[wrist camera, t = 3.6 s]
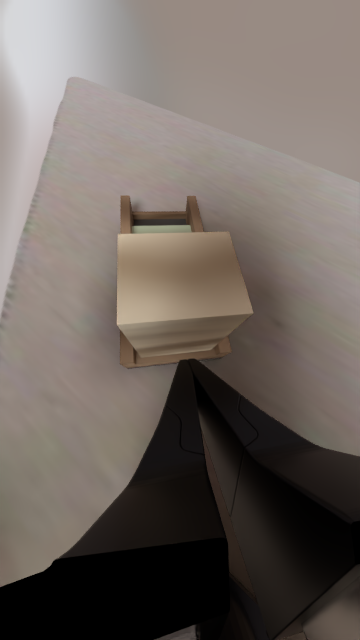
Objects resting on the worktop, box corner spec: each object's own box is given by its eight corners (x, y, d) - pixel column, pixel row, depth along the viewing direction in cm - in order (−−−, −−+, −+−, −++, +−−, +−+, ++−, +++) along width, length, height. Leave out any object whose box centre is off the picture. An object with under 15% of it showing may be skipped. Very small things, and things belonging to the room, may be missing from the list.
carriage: (210, 350, 15) (253, 313, 8) (141, 357, 14) (116, 324, 7) (200, 300, 17) (228, 231, 10) (139, 304, 16) (117, 234, 9)
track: (220, 358, 17) (231, 351, 14) (128, 368, 16) (120, 364, 13) (191, 219, 24) (195, 196, 21) (126, 220, 23) (120, 195, 20)
